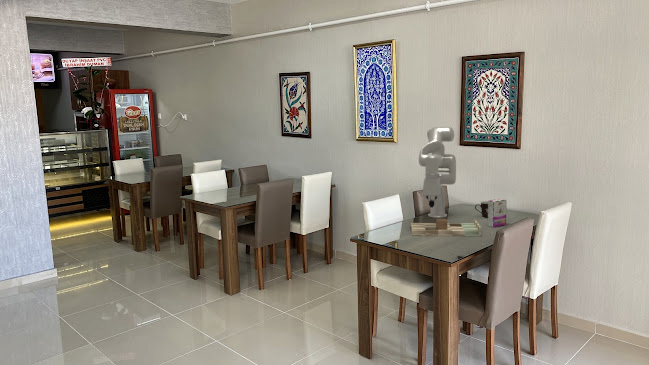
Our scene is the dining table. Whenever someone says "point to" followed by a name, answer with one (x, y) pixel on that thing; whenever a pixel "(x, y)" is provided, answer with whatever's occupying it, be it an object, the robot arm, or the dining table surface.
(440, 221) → the walnut block
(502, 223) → the candy bar box
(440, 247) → the dining table surface
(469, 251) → the dining table surface
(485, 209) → the coffee mug
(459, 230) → the trap deck
